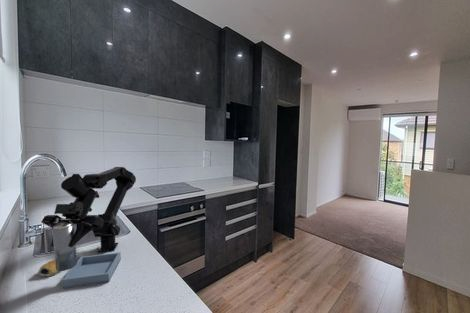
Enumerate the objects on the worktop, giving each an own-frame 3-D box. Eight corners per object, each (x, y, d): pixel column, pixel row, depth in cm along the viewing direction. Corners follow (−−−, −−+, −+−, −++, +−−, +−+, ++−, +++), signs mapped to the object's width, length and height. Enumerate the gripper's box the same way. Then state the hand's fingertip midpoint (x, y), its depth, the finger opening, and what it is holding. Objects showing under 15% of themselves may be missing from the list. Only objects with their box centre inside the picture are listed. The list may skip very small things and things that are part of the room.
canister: (59, 263, 74) (54, 223, 72) (78, 259, 76) (75, 220, 74) (53, 273, 68) (49, 229, 67) (74, 268, 71) (71, 226, 69)
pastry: (60, 261, 85) (59, 252, 85) (75, 262, 85) (74, 253, 84) (35, 276, 76) (34, 266, 76) (52, 278, 75) (51, 268, 75)
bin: (81, 264, 83) (81, 256, 83) (120, 259, 87) (120, 252, 86) (61, 288, 70) (61, 280, 69) (109, 281, 73) (108, 273, 73)
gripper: (43, 192, 74) (13, 238, 64) (96, 192, 73) (74, 239, 64) (63, 207, 82) (40, 249, 73) (111, 207, 82) (94, 249, 72)
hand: (61, 246), depth 70 cm, fingers closed on canister, 6 cm apart
